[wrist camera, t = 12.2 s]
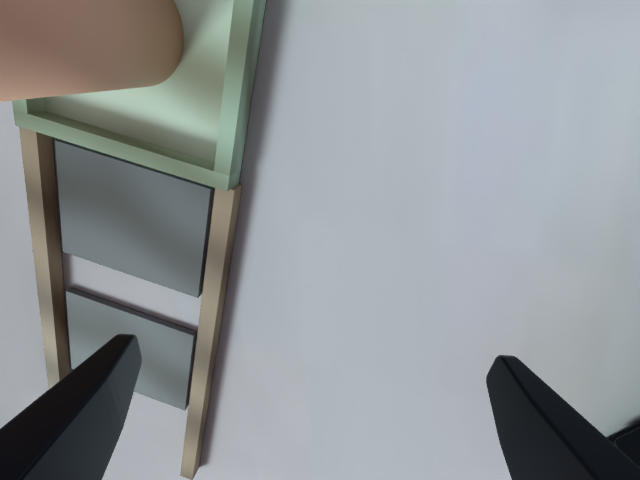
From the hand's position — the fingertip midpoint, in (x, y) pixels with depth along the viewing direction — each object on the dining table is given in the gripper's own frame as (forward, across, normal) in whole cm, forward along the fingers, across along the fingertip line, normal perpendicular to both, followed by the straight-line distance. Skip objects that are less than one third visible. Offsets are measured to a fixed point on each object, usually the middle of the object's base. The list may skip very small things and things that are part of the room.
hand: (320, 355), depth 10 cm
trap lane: (+13, +10, +7) cm, 18 cm away
